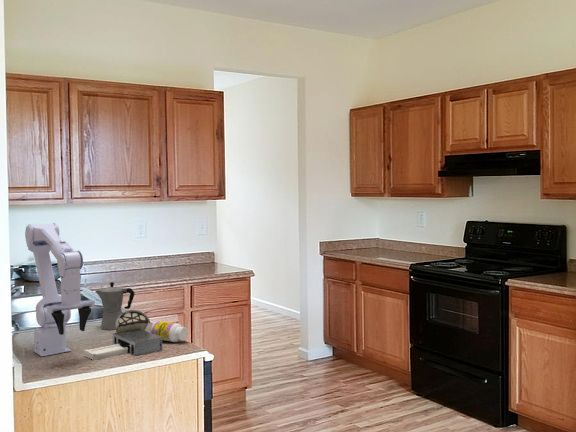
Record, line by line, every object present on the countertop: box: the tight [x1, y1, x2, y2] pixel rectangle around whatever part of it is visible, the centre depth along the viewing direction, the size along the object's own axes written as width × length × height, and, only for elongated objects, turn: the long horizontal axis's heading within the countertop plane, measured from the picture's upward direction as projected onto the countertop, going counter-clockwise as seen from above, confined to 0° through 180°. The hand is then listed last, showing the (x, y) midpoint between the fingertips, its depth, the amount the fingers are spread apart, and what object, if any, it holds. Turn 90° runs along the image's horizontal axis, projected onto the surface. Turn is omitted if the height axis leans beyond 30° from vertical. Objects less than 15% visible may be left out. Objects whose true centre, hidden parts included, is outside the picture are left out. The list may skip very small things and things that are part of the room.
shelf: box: [112, 329, 163, 357], centre depth 197 cm, size 10×16×4 cm, turn 42°
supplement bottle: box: [150, 320, 189, 343], centre depth 205 cm, size 7×7×13 cm
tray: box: [84, 344, 129, 361], centre depth 189 cm, size 12×6×2 cm, turn 132°
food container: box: [115, 309, 151, 333], centre depth 207 cm, size 12×6×10 cm
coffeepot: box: [94, 281, 135, 331], centre depth 226 cm, size 15×9×18 cm, turn 90°
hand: (71, 332), depth 181 cm, fingers open, 6 cm apart
